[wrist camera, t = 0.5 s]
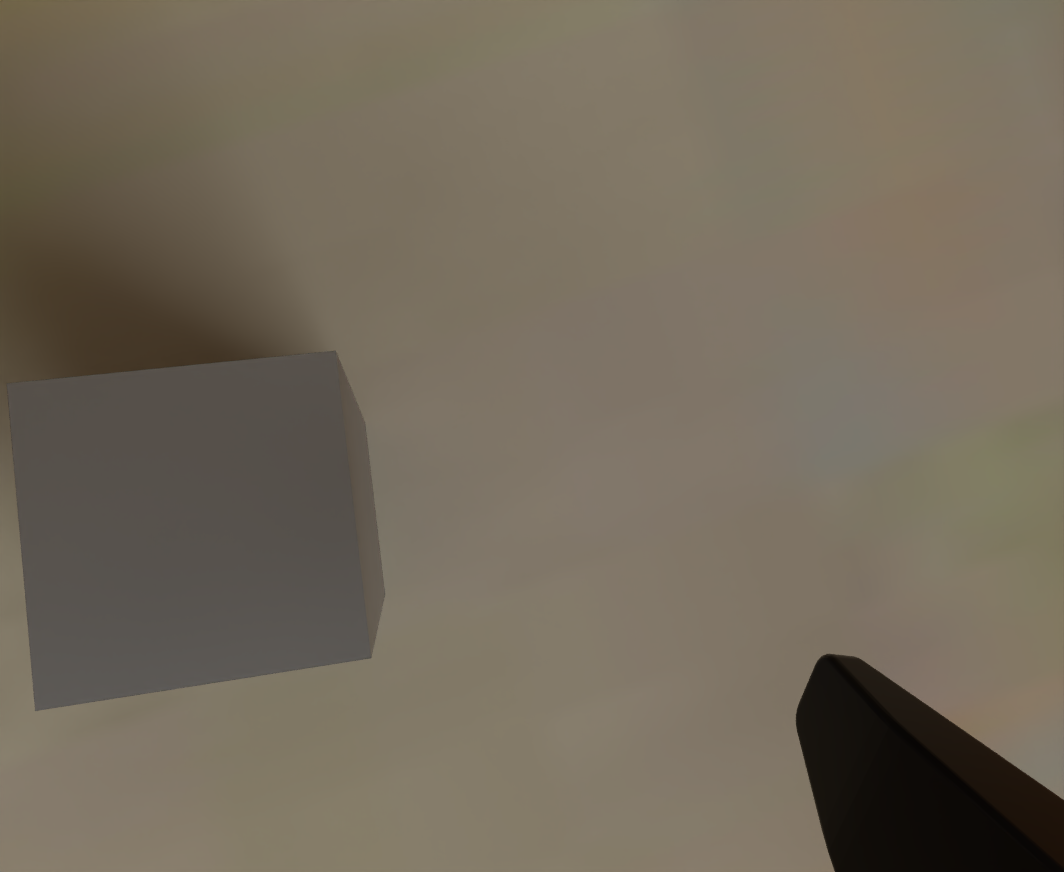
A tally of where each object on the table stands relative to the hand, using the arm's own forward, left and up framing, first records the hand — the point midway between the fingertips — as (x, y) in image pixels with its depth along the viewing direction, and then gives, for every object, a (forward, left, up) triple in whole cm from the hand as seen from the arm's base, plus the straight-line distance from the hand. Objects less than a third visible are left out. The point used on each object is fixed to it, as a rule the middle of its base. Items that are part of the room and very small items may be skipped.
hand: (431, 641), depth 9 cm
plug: (+2, +3, -13) cm, 14 cm away
